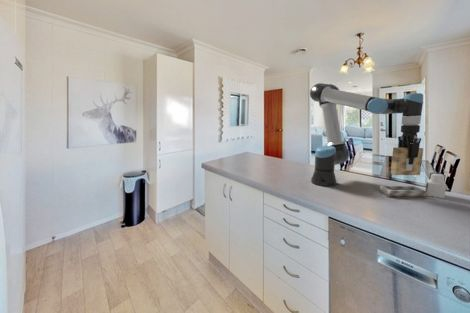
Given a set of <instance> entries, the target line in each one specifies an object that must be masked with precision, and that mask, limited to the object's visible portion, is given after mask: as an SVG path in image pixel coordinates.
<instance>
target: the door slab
mask: <svg viewBox="0 0 470 313" xmlns="http://www.w3.org/2000/svg"><path fill="white" fill-rule="evenodd" d="M423 153H424V147H423V148H422V147H419V152H418V157H417V158H414V161H413V166H412V171H406V170H405V169H406V161H407V157H408V148H398V147H393V149H392V158H391V166H390V174H392V175H394V176H420V175H421V170H422V169H421V168H422V163H423V155H424V154H423Z"/></svg>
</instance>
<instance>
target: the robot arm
mask: <svg viewBox="0 0 470 313" xmlns="http://www.w3.org/2000/svg"><path fill="white" fill-rule="evenodd" d="M309 96H310V98H311V100H312V101H314V102H317V103H318V104H319V108H321V109H322V114H323V120H324V128H325V134H326V139H327V143H326V144H325V145H323V146H322V145H320V146H318V147H316V149H315V153H314V156H315V157H314V172H313V173H312V176H311V178H310V179H311V180H310V182H311V183H312V184H314V185H317V186H322V187H323V186H324V187H333V186H336V185H337V182H338V181H337V178H336V174H335V166H337V165H342V164H344V163H346V162H347V161H348V160H349V158H350V150H349V149H348V148H347V146H346V143H345V142H344V141H343V140H342V135H341V128H340V123H339V116H338V115H339V114H338V109H337V105H341V106H344V107H349V108H353V109H357V110H361V111H366V112H369V113H372V114H374V115H381V114H382V115H387V114H389V115H390V114H402V116H401V126H400V133H402V135H401V136H400V135H399V136H398V137H397V140H398V141H397V148H408V157H407V161H406V169H405V170H406V171H412V166H413V161H414V158H417V157H418V152H419V148H420V144H421V141H422V138H421V137H418V133H420V132H421V131H420V130H421V119H422V112H423V105H424V94H423V93H421V92H416V93H407V94H405V95H404V97H403V98H392V99H390V98H380V97H376V96H370V95H367V94H366V95H365V94H361V93H355V92H350V91H345V90H341V89H339V87H338V86H336V85H334V84H331V83H329V84H328V83H323V82H319V83H316V84H314V85H313V86H312V87H311V89H310V91H309Z"/></svg>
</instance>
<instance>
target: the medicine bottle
mask: <svg viewBox="0 0 470 313" xmlns="http://www.w3.org/2000/svg"><path fill="white" fill-rule="evenodd" d="M446 177H447V176H446V174H444V173H441V172H430V173H429V178H428V179H427V180H426V183H425V184H426V185H425V191H426V197H432V196H433V197H432V198H438V197H439V199H445V198H446V197H445V196H446V191H447V184H446V182H445V181H446Z"/></svg>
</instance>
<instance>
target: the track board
mask: <svg viewBox="0 0 470 313" xmlns="http://www.w3.org/2000/svg"><path fill="white" fill-rule="evenodd" d="M378 192H380V193H381V194H382V195H385V196H386V197H388V198H405V199H407V198H408V199H409V198H410V199H411V198H412V199H413V198H414V199H416V198H417V199H419V198H420V199H426V198H427V196H426V189H422V188H420V187H417V186H415V185H412V186H411V185H379V190H378Z"/></svg>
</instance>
